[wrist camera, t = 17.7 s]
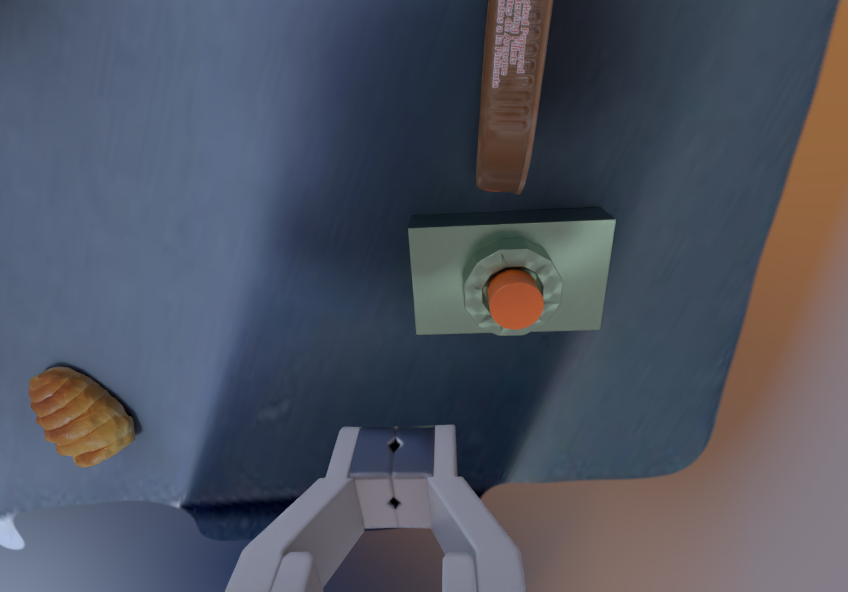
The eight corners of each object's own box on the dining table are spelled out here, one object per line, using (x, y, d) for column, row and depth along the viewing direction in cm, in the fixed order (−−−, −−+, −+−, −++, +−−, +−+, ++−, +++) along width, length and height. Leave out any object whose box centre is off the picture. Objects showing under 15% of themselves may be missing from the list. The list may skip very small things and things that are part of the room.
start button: (486, 269, 26) (489, 283, 24) (539, 267, 26) (546, 281, 24) (486, 314, 27) (489, 330, 26) (535, 313, 27) (542, 329, 25)
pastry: (26, 374, 38) (-16, 403, 34) (83, 352, 36) (46, 380, 33) (97, 447, 41) (66, 479, 38) (152, 429, 40) (124, 461, 36)
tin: (512, 179, 28) (537, 212, 20) (465, 177, 28) (472, 209, 21) (548, -121, 21) (605, -237, 14) (487, -122, 21) (509, -237, 14)
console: (411, 215, 29) (405, 238, 25) (600, 206, 29) (629, 228, 24) (418, 315, 33) (414, 350, 28) (587, 310, 32) (610, 345, 28)
